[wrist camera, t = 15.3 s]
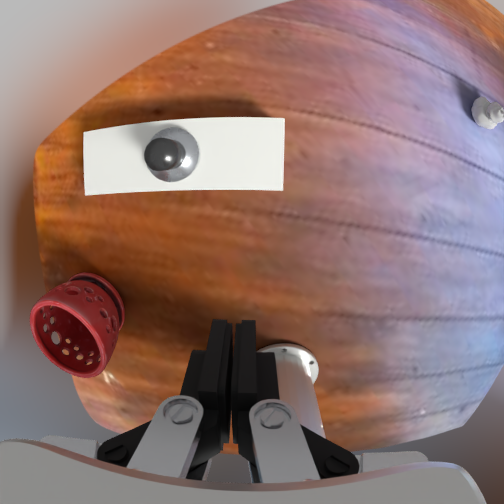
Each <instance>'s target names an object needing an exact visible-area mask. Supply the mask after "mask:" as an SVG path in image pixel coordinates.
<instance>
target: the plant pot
mask: <svg viewBox="0 0 504 504" xmlns="http://www.w3.org/2000/svg"><path fill="white" fill-rule="evenodd" d="M51 305H52V308H51V309H50V306H51ZM40 309H41V310H40ZM44 313H45V317H44V318H43V314H44ZM51 317H54V323H53V324H51V323H50V318H51ZM124 319H125V309H124V305H123V302H122V299H121V297H120V295H119V293H118V292H117V290H116V289H115V288H114V287H113V286H112V285H111V284H110V283H109V282H108V281H107V280H105V279H104V278H102V277H101V276H98V275H96V274H93V273H79V274H76V275H74V276H72V277H71V278H70V279H69V280H68V282H66V283H63V284H60V285H59V286H57V287H55V288H53V289H51V290H50V291H49V292H48V293H46V294H45V295H44V296H42V297H41V298H40V299H39V300H38V302H37V303H36V304H35V305H34V306H33V308H32V310H31V314H30V326H31V331H32V334H33V337H34V339H35V341H36V343H37V345H38V346H39V348H40V349H41V351H42V352H43V353H44V355H45V356H46V357H47V358H48V359H49V360H50V361H51V362H52V363H54V364H55V365H56V366H57V367H59V368H60V369H62V370H64V371H65V372H67V373H69V374H72V375H74V376H78V377H82V378H91V377H95V376H97V375H99V374H100V373H102V372H103V370H104V369H105V367H106V365H107V364H108V362H109V360H110V358H111V356H112V353H113V351H114V349H115V346H116V343H117V339H118V334H119V330H120V329H121V327H122V326H123V323H124ZM44 324H46V325H47V331H46V332H44V329H43V326H44ZM54 331H55V332H57V333H58V334H59V336H60V343H59V344H57V345H56V344H54V343H53V342H52V339H51V335H52V332H54ZM65 339H69V340H70V341H71V342H70V344H68V343H67V342H66V341H65ZM74 347H78V348H79V350H78V351H76V350H74ZM63 349H66V350H67V351H68V352H69V355H65V354H63V352H62V350H63ZM92 353H94V355H92V356H89V355H90V354H92ZM78 355H81V356H83V359H81V360H78V359H76V357H77V356H78ZM100 357H101V360H100V361H98V360H99V358H100ZM91 361H92V364H90V365H86V364H87V363H88V362H91Z"/></svg>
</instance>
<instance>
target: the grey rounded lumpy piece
mask: <svg viewBox="0 0 504 504" xmlns="http://www.w3.org/2000/svg"><path fill="white" fill-rule="evenodd" d="M471 111H472V115H473V118H474V120H475V122H476V123H477V125H479V126H480V127H484V128H486V129H493V128H494V127H495V126H496V125H497V123H500V122H503V121H504V110H503V107H502V106H501V105H499V104H498V103H497V102H492V103H490V102H489V101H488V100H487V99H486V98H485V97H479V98H477V99H476V100H475V101H474V102H473V106H472V108H471Z"/></svg>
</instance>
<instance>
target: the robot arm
mask: <svg viewBox="0 0 504 504" xmlns="http://www.w3.org/2000/svg"><path fill="white" fill-rule="evenodd" d="M318 370H319V368H318V363H317V360H316V358H315V356H314V355H313V354H312V353H311V352H310V351H309V350H307V349H306V348H304V347H302V346H299V345H295V344H290V343H281V344H274V345H270V346H266V347H264V348H262V349H260V350H258V351H257V352H256V328H255V320H242V324H236V333H235V345H234V356H233V334H232V323H227V320H218V319H213V322H212V326H211V331H210V335H209V340H208V345H207V349H206V351H204V350H193V351H192V353H191V356H190V360H189V363H188V367H187V371H186V374H185V378H184V382H183V385H182V389H181V393H180V395H179V396H173V397H170V398H168V399H166V400H165V401H163V402H162V404H161V405H160V406H159V408H158V410H157V412H156V413H155V415H154V417H153V419H152V420H151V421H149V422H147V423H145V424H143V425H141V426H138V427H136V428H134V429H132V430H130V431H127V432H125V433H123V434H121V435H118V436H116V437H114V438H111V439H109V440H107V441H106V442H104V443H98V442H97V441H96V440H85V439H76V438H68V437H61V436H54V435H50V436H49V435H48V436H46V437H43V438H42V439H41V440H40V441H35V440H28V439H8V440H4V441H1V442H0V504H486V501H485V499H484V497H483V495H482V493H481V491H480V490H479V488H478V486H477V484H476V483H475V482H474V480H473V478H472V477H471V476H470V475H469V473H468V472H467V471H466V470H465V469H464V468H462V467H460V466H459V465H456V464H452V463H446V462H429V461H428V459H427V457H426V456H425V455H424V454H422V453H420V452H418V451H405V452H391V453H390V452H388V453H363V454H362V455H361V456H360V455H353V454H352V453H351V452H349V451H347V450H346V449H344V448H342V447H340V446H338V445H336V444H334V443H332V442H331V441H329V440H327V439H326V437H325V433H324V429H323V424H322V420H321V416H320V411H319V407H318V403H317V399H316V394H315V390H314V386H313V384H314V382H315V380H316V379H317V376H318ZM231 411H232V429H233V443H234V444H238V451H239V454H241V455H242V456H243V457H244V458H246V459H247V460H248V461H249V469H250V474H251V480H252V483H223V482H209V481H206V478H207V475H208V472H209V469H210V465H211V461H212V457H213V456H215V455H216V454H218V453H220V450H223V443H229V435H230V421H231Z"/></svg>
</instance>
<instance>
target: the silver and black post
mask: <svg viewBox="0 0 504 504" xmlns="http://www.w3.org/2000/svg"><path fill="white" fill-rule="evenodd" d="M144 159H145V162H146V164H147V167H148V169H149V170H150V172H151V173H152V174H153V175H154V176H155V177H156V178H158V179H159V180H162V181H165V182H176V181H180V180H183V179H185V178H187V177H188V176H190V175H191V174H192V173H193V172H194V171H195V169H196V168H197V166H198V163H199V160H200V147H199V144H198V142H197V140H196V138H195V137H194V136H193V135H192V134H191V133H190V132H188V131H186V130H184V129H181V128H176V127H171V128H166V129H163V130H161V131H159V132H158V133H156V134H155V135H154V136H153V137H152V139H151V140H150V142H149V143H148V145H147V146H146V148H145V152H144Z"/></svg>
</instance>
